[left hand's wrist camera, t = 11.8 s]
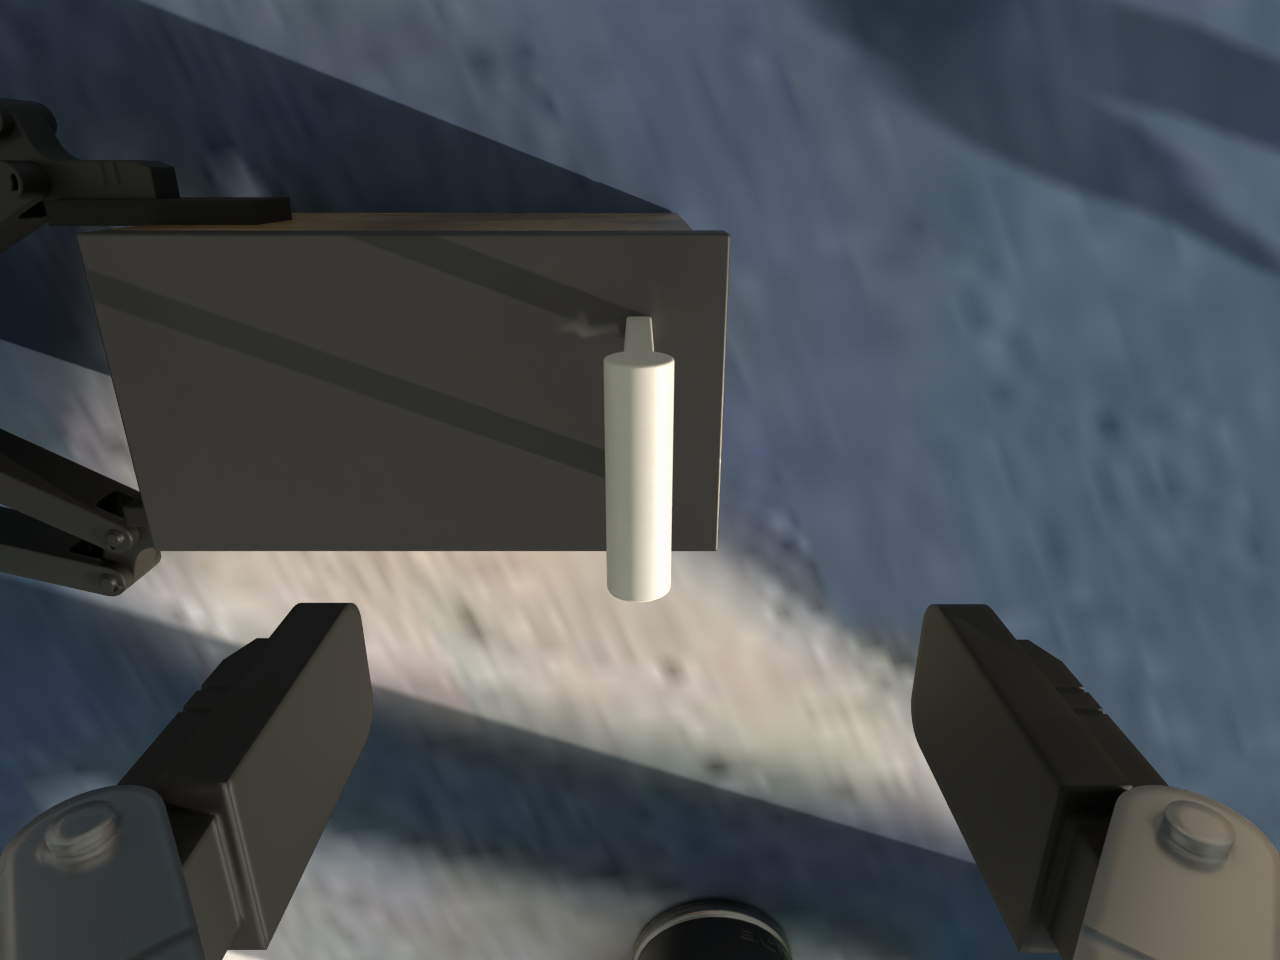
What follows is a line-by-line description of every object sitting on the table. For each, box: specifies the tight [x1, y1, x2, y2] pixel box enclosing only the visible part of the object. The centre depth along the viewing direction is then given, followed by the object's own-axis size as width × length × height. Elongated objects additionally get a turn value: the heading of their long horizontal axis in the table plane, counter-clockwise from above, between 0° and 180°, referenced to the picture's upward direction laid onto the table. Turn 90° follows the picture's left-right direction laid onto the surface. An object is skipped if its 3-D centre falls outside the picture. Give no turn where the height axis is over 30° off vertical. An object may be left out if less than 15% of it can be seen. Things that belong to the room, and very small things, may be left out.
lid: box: [77, 230, 730, 602], centre depth 21 cm, size 18×10×8 cm, turn 90°
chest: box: [110, 213, 693, 231], centre depth 29 cm, size 17×10×10 cm, turn 90°
